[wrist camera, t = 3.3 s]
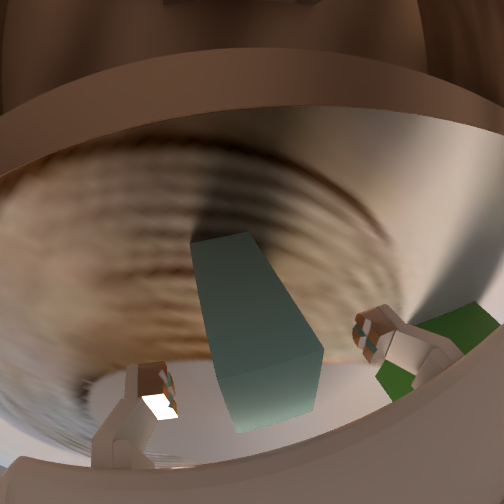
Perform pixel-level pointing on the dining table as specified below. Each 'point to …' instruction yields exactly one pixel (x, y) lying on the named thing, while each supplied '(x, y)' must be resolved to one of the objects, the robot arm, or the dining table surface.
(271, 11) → the walled box
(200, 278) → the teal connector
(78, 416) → the dining table surface
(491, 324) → the hardback book
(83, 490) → the robot arm
